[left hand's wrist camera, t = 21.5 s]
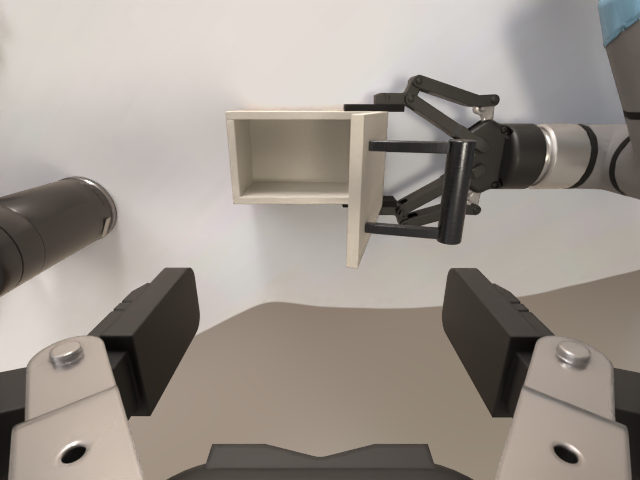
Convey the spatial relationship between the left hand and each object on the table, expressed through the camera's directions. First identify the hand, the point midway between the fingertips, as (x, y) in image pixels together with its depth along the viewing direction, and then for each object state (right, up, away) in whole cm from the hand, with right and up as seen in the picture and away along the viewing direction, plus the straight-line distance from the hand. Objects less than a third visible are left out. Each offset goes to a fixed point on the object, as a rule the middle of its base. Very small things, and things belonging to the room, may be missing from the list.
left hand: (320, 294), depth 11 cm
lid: (+4, +8, +20) cm, 22 cm away
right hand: (+3, +12, +31) cm, 33 cm away
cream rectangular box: (-2, +14, +37) cm, 40 cm away
